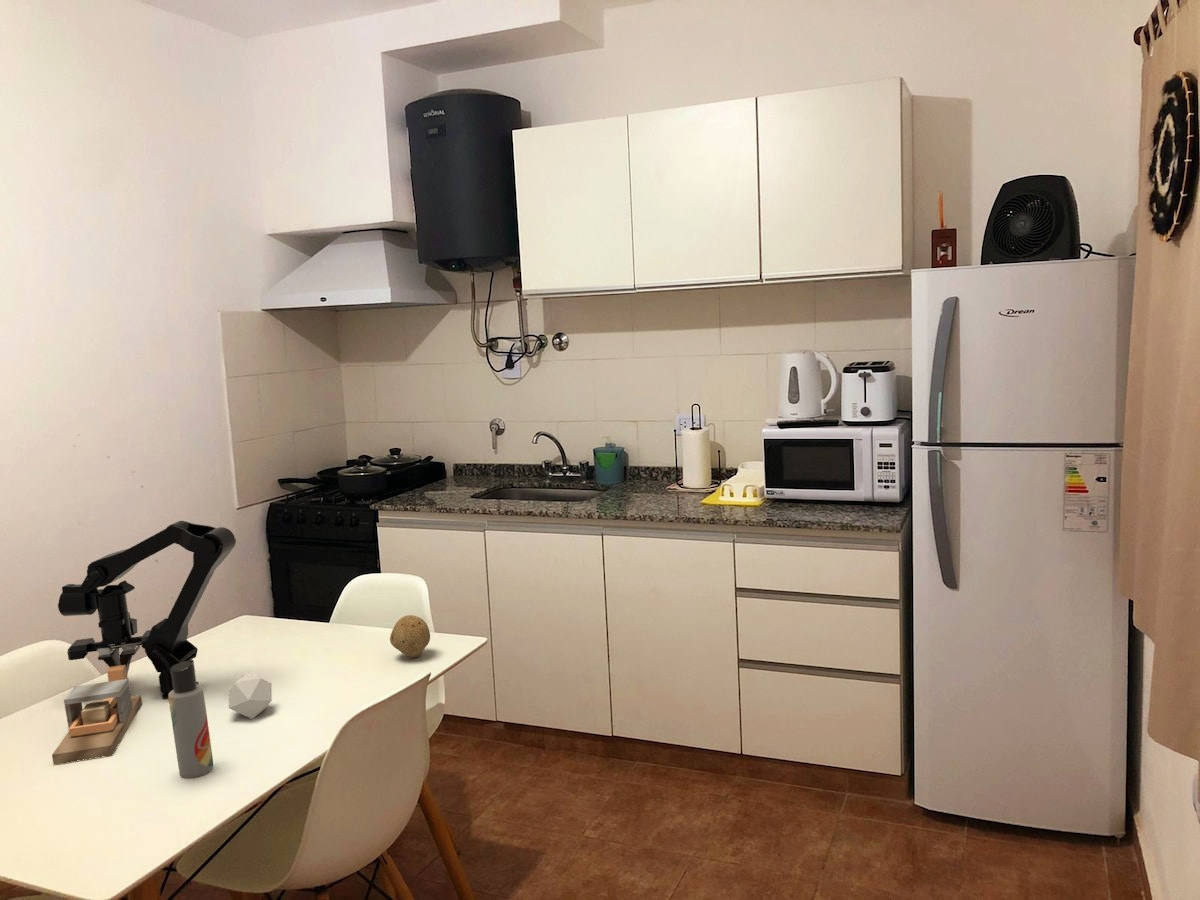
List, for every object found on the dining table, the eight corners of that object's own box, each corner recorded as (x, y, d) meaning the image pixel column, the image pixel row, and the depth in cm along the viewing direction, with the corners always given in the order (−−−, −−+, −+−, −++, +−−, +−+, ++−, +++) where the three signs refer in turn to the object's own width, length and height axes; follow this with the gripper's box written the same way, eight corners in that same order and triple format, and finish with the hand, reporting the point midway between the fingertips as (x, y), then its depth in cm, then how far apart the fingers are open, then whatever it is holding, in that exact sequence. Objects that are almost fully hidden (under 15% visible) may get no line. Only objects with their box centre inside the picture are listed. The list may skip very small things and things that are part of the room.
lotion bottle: (220, 764, 170) (206, 659, 167) (198, 780, 165) (182, 671, 162) (195, 761, 172) (180, 657, 169) (172, 776, 167) (156, 669, 164)
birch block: (111, 719, 189) (108, 700, 188) (106, 727, 185) (103, 708, 185) (89, 722, 188) (86, 703, 188) (84, 731, 184) (81, 711, 184)
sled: (140, 684, 206) (137, 662, 205) (112, 729, 183) (108, 705, 182) (102, 690, 204) (99, 668, 203) (69, 736, 181) (65, 711, 180)
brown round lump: (385, 663, 215) (381, 621, 213) (402, 649, 223) (398, 609, 222) (422, 664, 213) (418, 622, 211) (437, 650, 221) (433, 609, 220)
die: (282, 714, 192) (279, 669, 196) (252, 710, 185) (249, 663, 189) (251, 727, 194) (248, 681, 199) (220, 723, 187) (217, 676, 191)
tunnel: (142, 703, 201) (136, 666, 200) (112, 755, 177) (105, 712, 176) (91, 711, 199) (85, 673, 198) (53, 764, 175) (46, 721, 174)
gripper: (167, 596, 214) (176, 662, 217) (77, 608, 210) (88, 674, 213) (156, 611, 204) (166, 680, 206) (61, 623, 200) (73, 693, 202)
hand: (123, 681), depth 207 cm, fingers closed
